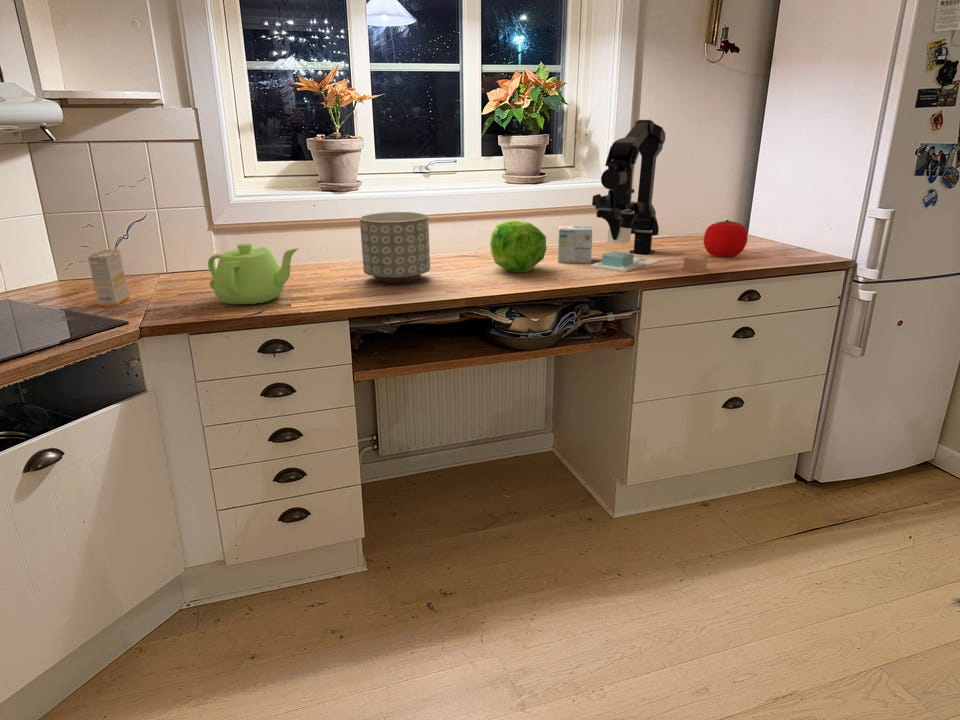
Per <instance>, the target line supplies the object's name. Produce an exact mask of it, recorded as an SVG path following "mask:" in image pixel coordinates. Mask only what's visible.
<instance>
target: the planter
mask: <svg viewBox="0 0 960 720" xmlns="http://www.w3.org/2000/svg"><path fill="white" fill-rule="evenodd" d="M359 226H360V239H361V240H360V241H361V252H362V253H361V254H362V255H361V256H362V269H363V273H364V274H365V275H368V276H370V277H371V276H372V277H373V278H375V279H377V280H378V281H381V282H384V283H386V282H387V284H404V283H403V282H405V283H409V282H412V281H414V280H415V279H417V278H419V277H421V275H423V274H425V273H428V272H429V271H430V270H431V254H430V253H431V252H430V251H431V250H430V229H429V227H430V226H429V215H428V214H426V213H422V212H417V211H415V212H413V211H391V212H390V211H389V212H376V213H375V212H374V213H369V214H368V213H367V214H365V215H361V216H360V217H359Z"/></svg>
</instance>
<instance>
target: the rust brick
mask: <svg viewBox="0 0 960 720" xmlns="http://www.w3.org/2000/svg"><path fill="white" fill-rule="evenodd" d="M683 258H684V259H683V269H682V270H683V271H685V272H692V273H698V274H699V273H702V272H705V271H706V270H707V265H708V264H707V263H708V256H703V255H696V254H690V255H688V256H685V257H683Z"/></svg>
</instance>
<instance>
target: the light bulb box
mask: <svg viewBox="0 0 960 720" xmlns="http://www.w3.org/2000/svg"><path fill="white" fill-rule="evenodd" d="M557 232H558V233H557V234H558V235H557V236H558V237H557V263H566V264H567V263H571V264H572V263H574V264H575V263H579V264H580V263H581V264H582V263H585V264H586V263H587V264H589V263H592V253H593V252H592V250H593V249H592V248H593V246H592V245H593V228H592V226H591V225H586V226H585V225H584V226H583V225H582V226H581V225H570V226H569V225H568V226H564V225H563V226H562V225H558V231H557Z"/></svg>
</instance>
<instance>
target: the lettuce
mask: <svg viewBox="0 0 960 720" xmlns="http://www.w3.org/2000/svg"><path fill="white" fill-rule="evenodd" d="M547 248H548V247H547V236H546V235H545V234H544V233H543V232H542V231H541V230H540V229H539V228H538V227H536V226H535V224H533V223H530V222H524V221H520V220H511V221H504V222H502V223H499V224H497V225H496V226H495V227H494V229H493V231H492V233H491V238H490V253H491V256H492V259H493V260H494V263H495V264H496V265H497V266H499V267H500V268H501V269H503V270H507V271H510V272H512V273H521V272H522V273H525V272H529V271H530V270H532V269H533V268H534V267H535V266H537V265H538V264H539V263H541V261H543V260H544V259H545V258H544V257H545V256H546V252H547Z"/></svg>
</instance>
